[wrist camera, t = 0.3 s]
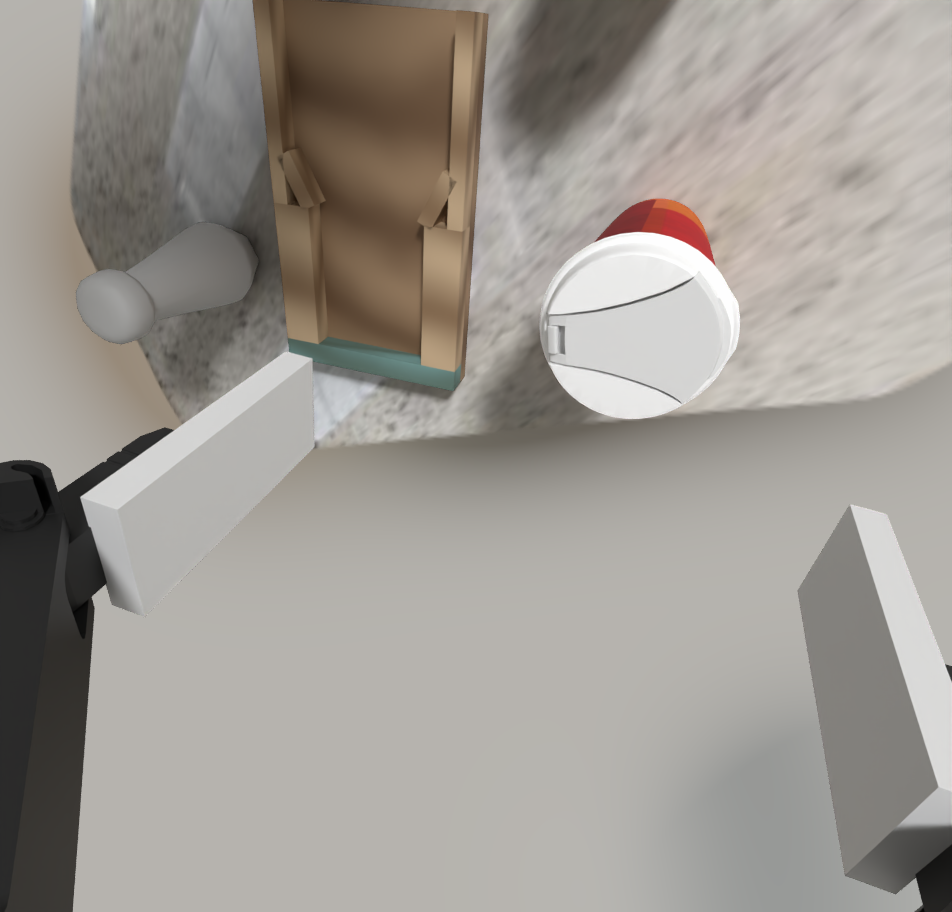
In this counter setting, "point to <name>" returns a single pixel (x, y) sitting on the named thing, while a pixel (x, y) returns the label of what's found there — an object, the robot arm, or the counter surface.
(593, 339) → the coffee cup
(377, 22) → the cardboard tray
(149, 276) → the salt shaker
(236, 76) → the counter surface
